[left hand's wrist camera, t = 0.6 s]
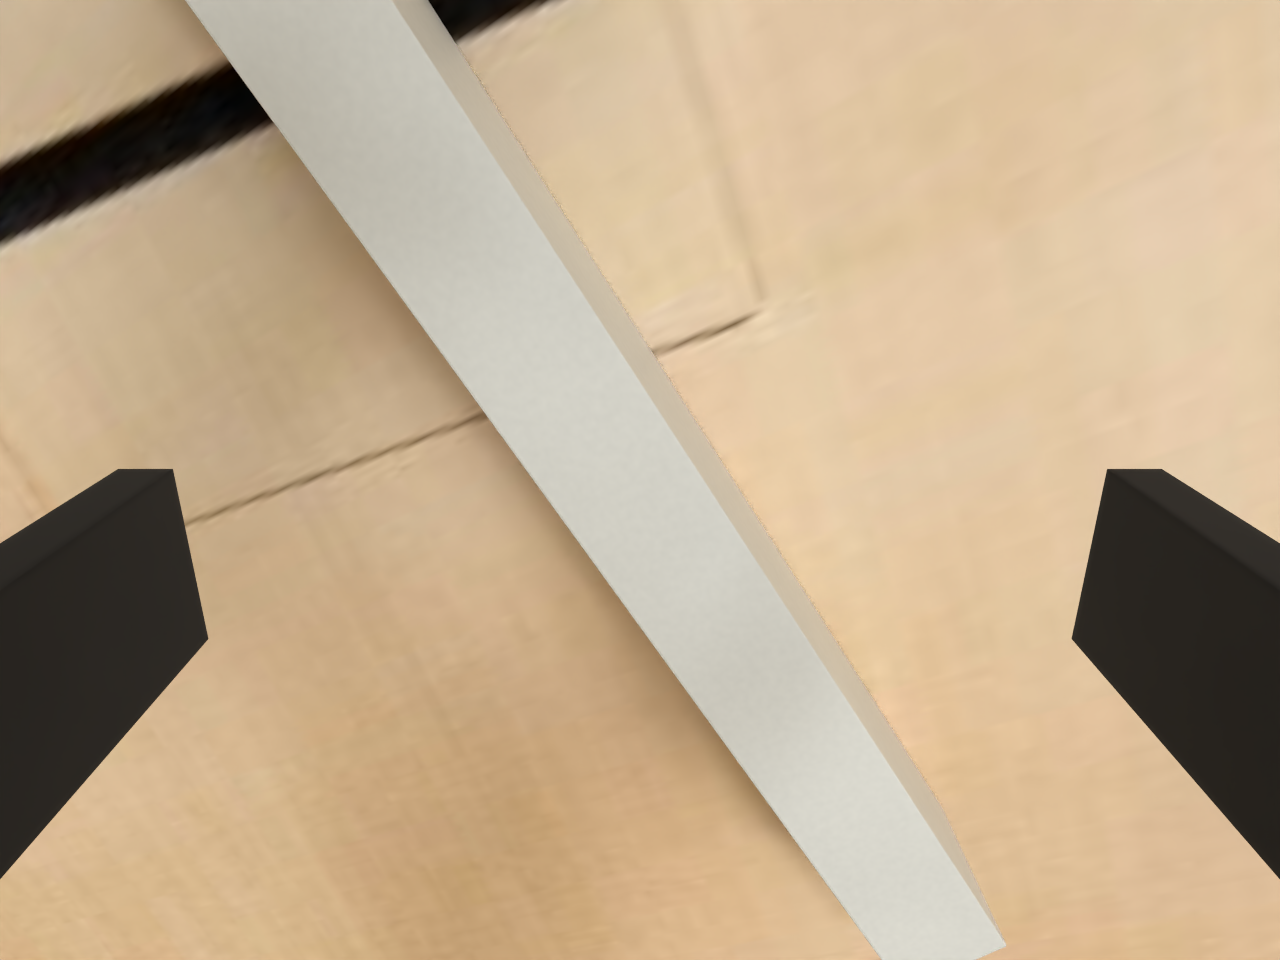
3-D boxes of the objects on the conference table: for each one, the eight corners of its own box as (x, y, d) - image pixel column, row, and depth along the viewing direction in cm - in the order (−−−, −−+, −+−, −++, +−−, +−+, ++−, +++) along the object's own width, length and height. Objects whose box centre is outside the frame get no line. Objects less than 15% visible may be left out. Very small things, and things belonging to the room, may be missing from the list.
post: (33, -338, 28) (-198, -525, 20) (145, -444, 27) (-52, -682, 19) (858, 847, 45) (903, 991, 37) (942, 807, 44) (1007, 946, 36)
